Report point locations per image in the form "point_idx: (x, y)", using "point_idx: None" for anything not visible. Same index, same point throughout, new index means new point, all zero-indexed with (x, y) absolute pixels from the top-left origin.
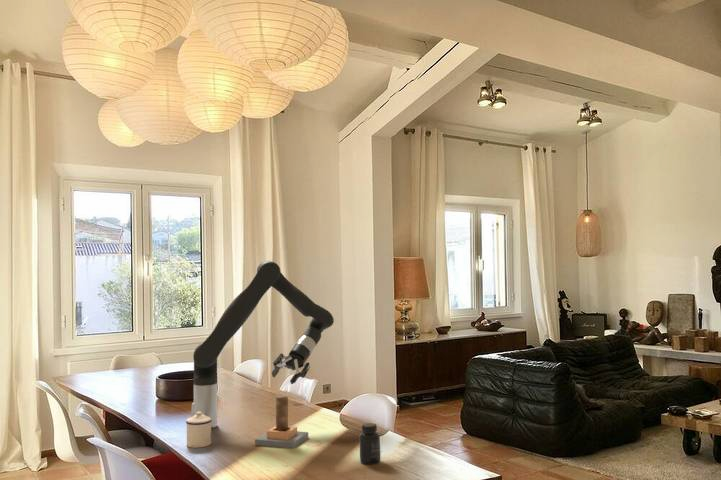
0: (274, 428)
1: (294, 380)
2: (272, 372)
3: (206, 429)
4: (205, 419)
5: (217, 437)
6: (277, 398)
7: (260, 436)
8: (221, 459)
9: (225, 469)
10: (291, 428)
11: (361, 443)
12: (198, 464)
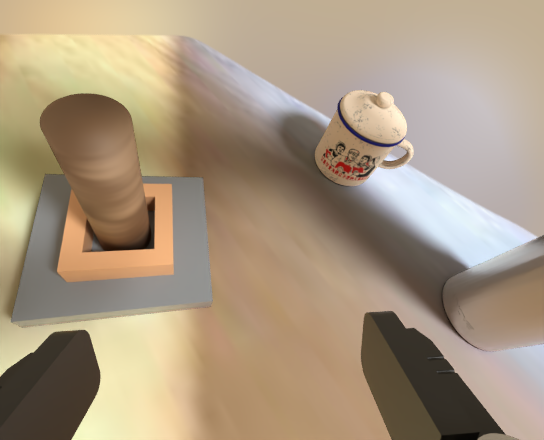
0: (158, 218)
1: (11, 368)
2: (417, 338)
3: (331, 122)
4: (349, 103)
5: (351, 223)
6: (108, 97)
7: (203, 207)
8: (216, 91)
9: (170, 49)
10: (77, 237)
11: None
12: (241, 67)
